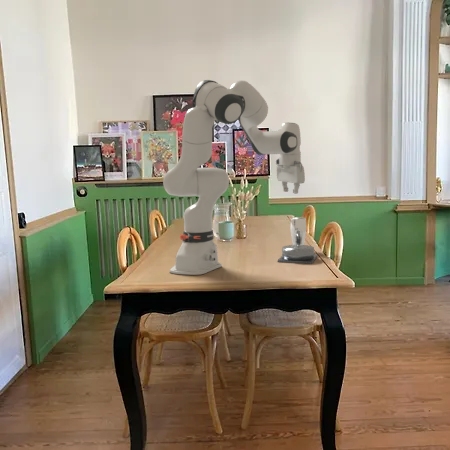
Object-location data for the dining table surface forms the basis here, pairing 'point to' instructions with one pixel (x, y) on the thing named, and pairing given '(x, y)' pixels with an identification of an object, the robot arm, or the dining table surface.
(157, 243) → the dining table surface
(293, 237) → the pale grey rectangular box
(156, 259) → the dining table surface
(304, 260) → the duct stub
